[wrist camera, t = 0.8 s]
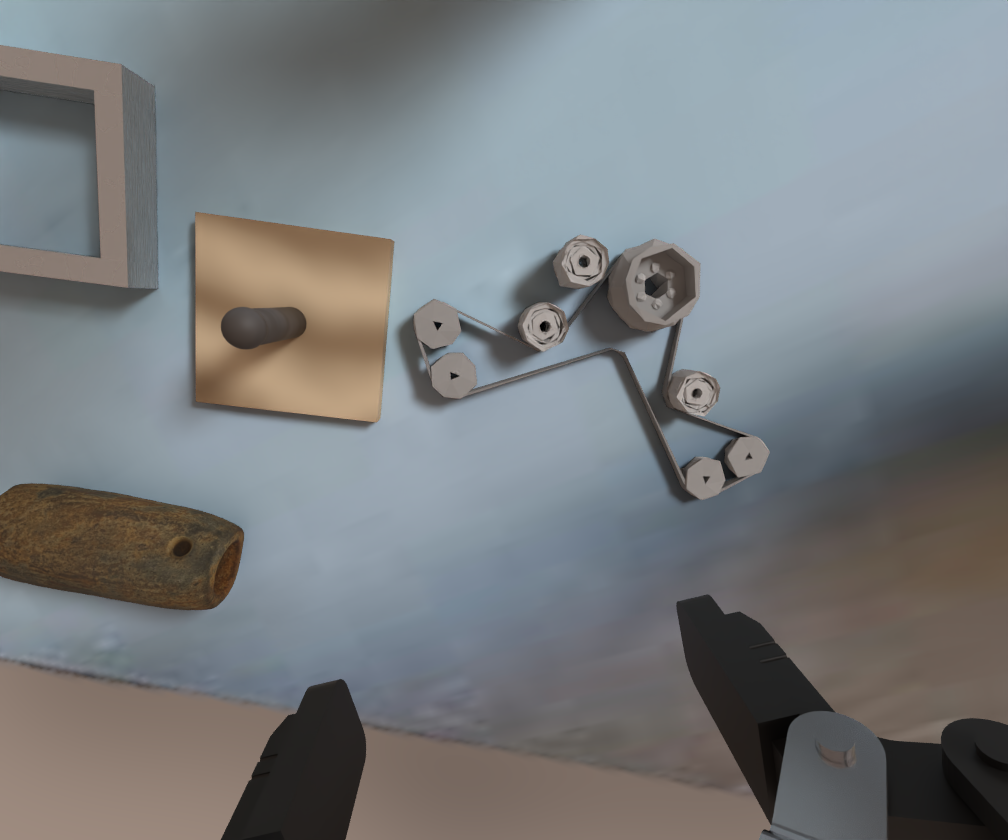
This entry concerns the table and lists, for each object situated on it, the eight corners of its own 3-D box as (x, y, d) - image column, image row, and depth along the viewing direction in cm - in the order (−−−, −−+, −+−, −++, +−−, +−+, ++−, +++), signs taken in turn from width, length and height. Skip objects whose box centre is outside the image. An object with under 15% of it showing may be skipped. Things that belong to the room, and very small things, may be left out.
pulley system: (475, 161, 34) (393, 372, 36) (479, 136, 30) (384, 380, 32) (815, 326, 39) (725, 506, 41) (864, 327, 34) (760, 530, 36)
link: (-57, 53, 31) (-114, 27, 28) (154, 86, 31) (121, 64, 28) (-37, 263, 33) (-87, 260, 30) (158, 288, 34) (127, 287, 31)
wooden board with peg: (205, 215, 33) (105, 184, 24) (394, 241, 34) (364, 221, 25) (205, 398, 36) (114, 430, 27) (380, 418, 37) (348, 456, 28)
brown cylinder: (256, 491, 38) (208, 532, 31) (252, 578, 39) (207, 634, 33) (37, 466, 36) (-59, 502, 30) (42, 556, 38) (-48, 610, 31)
